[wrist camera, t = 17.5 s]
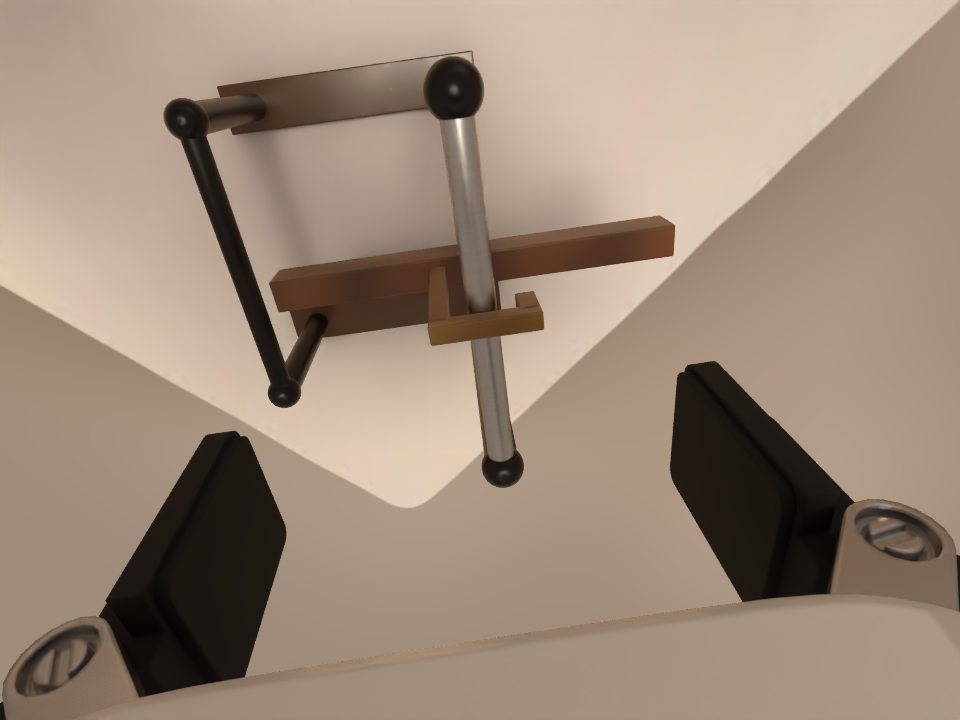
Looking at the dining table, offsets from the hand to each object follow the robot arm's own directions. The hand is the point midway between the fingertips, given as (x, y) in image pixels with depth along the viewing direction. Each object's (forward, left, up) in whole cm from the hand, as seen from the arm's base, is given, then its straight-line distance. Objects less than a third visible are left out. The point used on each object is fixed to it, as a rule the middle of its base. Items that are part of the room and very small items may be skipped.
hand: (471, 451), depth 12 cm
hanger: (+1, -1, -17) cm, 17 cm away
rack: (-6, -1, -32) cm, 33 cm away
